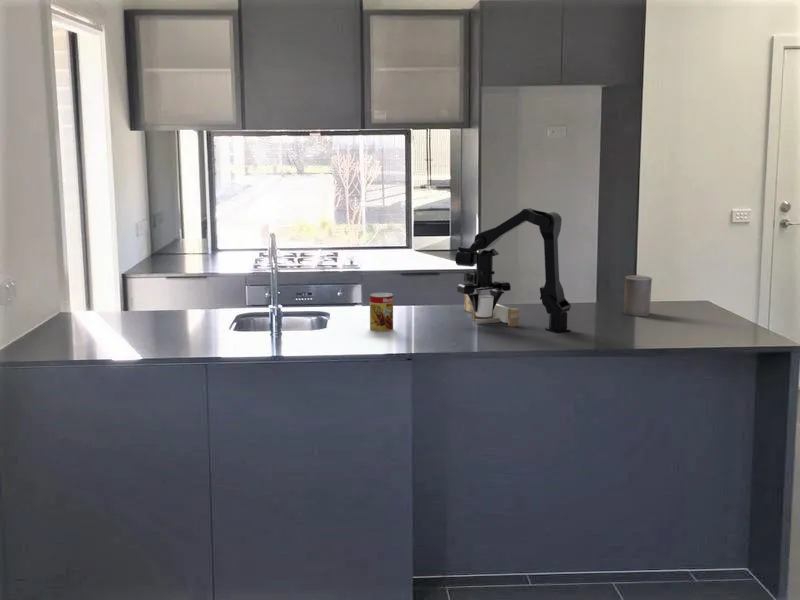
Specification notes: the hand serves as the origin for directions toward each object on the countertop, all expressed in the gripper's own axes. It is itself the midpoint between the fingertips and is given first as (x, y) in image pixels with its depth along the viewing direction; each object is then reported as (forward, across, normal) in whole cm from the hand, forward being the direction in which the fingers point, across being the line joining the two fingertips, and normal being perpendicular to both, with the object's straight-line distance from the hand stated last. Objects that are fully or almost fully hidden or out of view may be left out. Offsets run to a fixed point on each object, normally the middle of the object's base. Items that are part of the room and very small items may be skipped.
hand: (483, 311), depth 334 cm
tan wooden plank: (+4, -2, -6) cm, 7 cm away
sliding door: (+3, -2, -3) cm, 5 cm away
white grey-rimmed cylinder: (+2, 0, 0) cm, 2 cm away
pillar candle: (+4, -59, +10) cm, 60 cm away
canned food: (+4, +38, -3) cm, 38 cm away
